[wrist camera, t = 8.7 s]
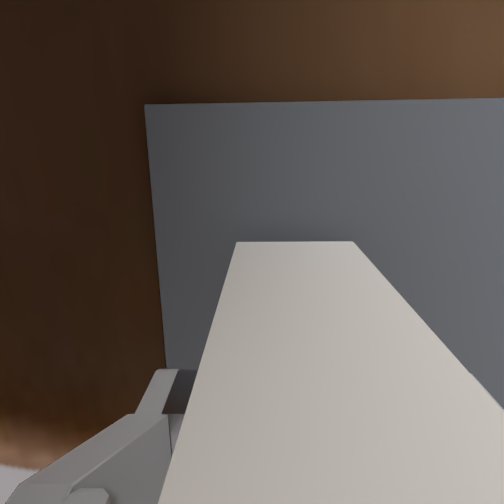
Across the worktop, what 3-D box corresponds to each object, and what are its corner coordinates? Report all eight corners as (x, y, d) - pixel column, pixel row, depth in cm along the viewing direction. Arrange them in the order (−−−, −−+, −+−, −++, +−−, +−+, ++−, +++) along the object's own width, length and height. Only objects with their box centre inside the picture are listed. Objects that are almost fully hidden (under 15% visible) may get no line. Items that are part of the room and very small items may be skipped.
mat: (678, 96, 13) (698, 94, 12) (584, 440, 17) (595, 450, 16) (149, 106, 13) (143, 104, 13) (176, 434, 17) (173, 444, 17)
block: (352, 241, 13) (1010, 982, 2) (345, 369, 14) (661, 1269, 3) (236, 241, 13) (32, 917, 2) (239, 368, 15) (140, 1218, 3)
